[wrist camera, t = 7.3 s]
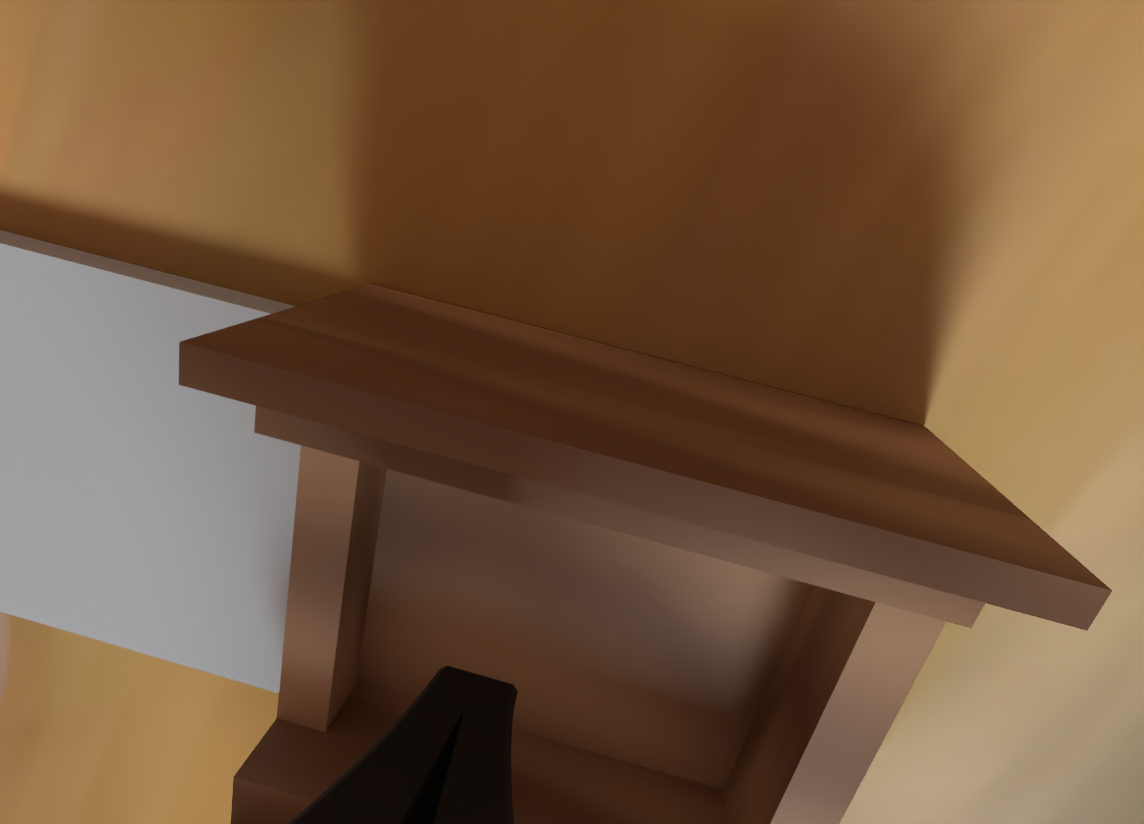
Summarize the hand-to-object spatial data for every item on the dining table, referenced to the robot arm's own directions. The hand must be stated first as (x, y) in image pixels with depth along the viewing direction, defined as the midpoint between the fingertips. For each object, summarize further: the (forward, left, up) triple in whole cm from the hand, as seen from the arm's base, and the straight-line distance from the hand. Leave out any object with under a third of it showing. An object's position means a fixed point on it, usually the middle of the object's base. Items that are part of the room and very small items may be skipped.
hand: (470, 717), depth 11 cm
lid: (0, +10, -5) cm, 11 cm away
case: (0, -1, -5) cm, 5 cm away
